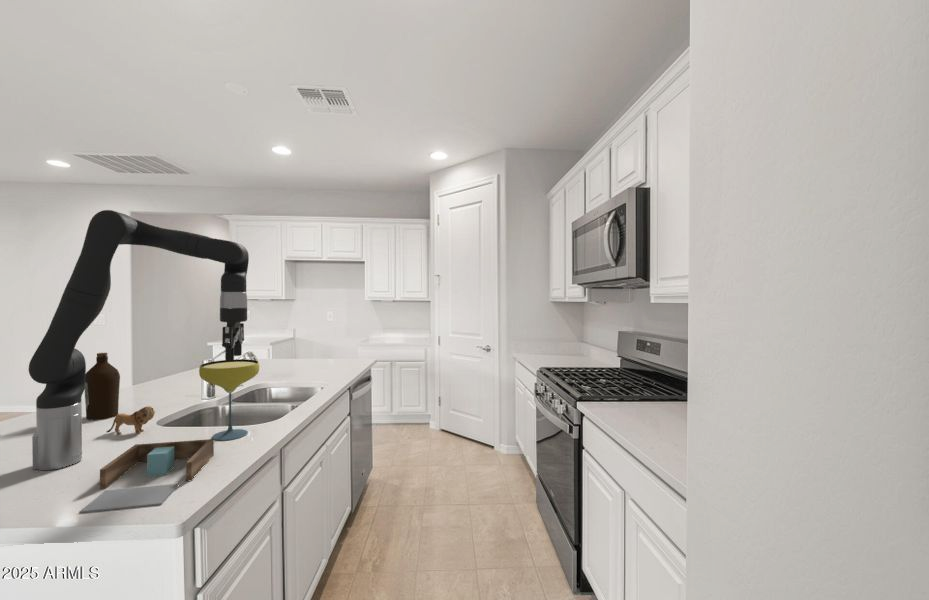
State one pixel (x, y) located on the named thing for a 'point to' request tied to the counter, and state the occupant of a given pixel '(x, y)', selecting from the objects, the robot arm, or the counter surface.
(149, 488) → the rubber mat
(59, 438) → the robot arm
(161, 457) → the teal block
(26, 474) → the counter surface
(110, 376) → the olive oil
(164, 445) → the open-front crate
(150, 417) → the lion figurine
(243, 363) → the cocktail glass
